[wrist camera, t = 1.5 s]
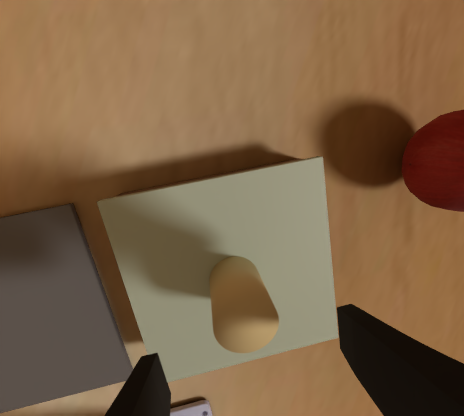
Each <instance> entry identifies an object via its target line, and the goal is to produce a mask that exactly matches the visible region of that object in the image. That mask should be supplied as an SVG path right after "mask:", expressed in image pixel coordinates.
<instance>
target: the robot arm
mask: <svg viewBox="0 0 464 416" xmlns="http://www.w3.org/2000/svg"><path fill="white" fill-rule="evenodd" d="M337 314H338V326H339V339H340V349H341V351H342V353H343V354H344V356H345V358H346V360H347V362H348V363H349V365H350V367H351V369H352V370H353V372H354V374H355V375H356V377H357V378H358V380H359V381H360V383H361V384H362V386H363V387H364V388H365V390H366V391H367V393H368V394H369V396H370V397H371V398H372V400H373V401H374V403H375V404H376V405H377V407H378V408H379V410H380V411H381V412H382V414H383V415H384V416H464V364H463V363H461V362H459V361H457V360H455V359H453V358H450V357H448V356H446V355H444V354H442V353H440V352H438V351H436V350H434V349H432V348H430V347H428V346H426V345H424V344H422V343H420V342H419V341H417V340H415V339H413V338H411V337H409V336H407V335H405V334H404V333H402V332H400V331H398V330H396V329H395V328H393V327H391V326H389V325H387V324H386V323H384V322H382V321H380V320H379V319H377V318H375V317H374V316H372V315H370V314H368V313H367V312H365V311H363V310H361V309H360V308H358V307H356V306H354V305H352V304H349V305H345V306H341V307H337ZM170 405H171V392H170V389H169V386H168V383H167V380H166V377H165V374H164V371H163V368H162V364H161V361H160V358H159V355H158V353H154V354H150V355H146V356H142V357H141V358H140V360H139V361H138V363H137V364H136V366H135V368H134V369H133V371H132V373H131V374H130V376H129V377H128V379H127V381H126V382H125V384H124V386H123V387H122V389H121V391H120V392H119V394H118V395H117V397H116V399H115V400H114V402H113V403H112V405H111V406H110V408H109V410H108V411H107V413H106V414H105V416H213V415H212V411H211V408H210V404H209V402H208V401H207V400H201V401H198V402H194V403H190V404H187V405H183V406H179V407H175V408H172V409H170Z"/></svg>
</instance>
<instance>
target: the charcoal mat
mask: <svg viewBox="0 0 464 416" xmlns="http://www.w3.org/2000/svg"><path fill="white" fill-rule="evenodd" d="M132 371H133V368H132V366H131V363H130V360H129V357H128V354H127V352H126V349H125V346H124V343H123V341H122V338H121V335H120V332H119V330H118V327H117V324H116V321H115V318H114V316H113V313H112V310H111V307H110V305H109V302H108V299H107V296H106V294H105V291H104V288H103V285H102V283H101V280H100V277H99V274H98V271H97V269H96V266H95V263H94V260H93V258H92V255H91V252H90V249H89V247H88V244H87V241H86V238H85V236H84V233H83V230H82V227H81V224H80V222H79V219H78V216H77V213H76V211H75V208H74V205H73V203H72V204H67V205H62V206H57V207H52V208H47V209H42V210H37V211H32V212H27V213H22V214H17V215H12V216H7V217H2V218H0V413H3V412H7V411H11V410H15V409H19V408H23V407H26V406H30V405H34V404H38V403H42V402H46V401H50V400H53V399H57V398H61V397H65V396H69V395H73V394H77V393H81V392H84V391H88V390H92V389H96V388H100V387H104V386H108V385H111V384H115V383H119V382H123V381H127V379H128V377H129V376H130V374H131V373H132Z"/></svg>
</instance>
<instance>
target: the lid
mask: <svg viewBox="0 0 464 416" xmlns="http://www.w3.org/2000/svg"><path fill="white" fill-rule="evenodd" d="M97 205H98V208H99V211H100V214H101V217H102V220H103V222H104V225H105V228H106V231H107V234H108V237H109V240H110V243H111V246H112V249H113V252H114V255H115V258H116V261H117V264H118V267H119V270H120V273H121V276H122V279H123V282H124V285H125V288H126V291H127V294H128V297H129V300H130V303H131V306H132V309H133V312H134V315H135V318H136V321H137V324H138V327H139V330H140V333H141V336H142V339H143V342H144V345H145V348H146V351H147V354H148V355H150V354H154V353H158V355H159V358H160V361H161V364H162V368H163V371H164V374H165V377H166V380H167V383H168V382H171V381H175V380H179V379H183V378H187V377H191V376H194V375H198V374H202V373H206V372H210V371H213V370H217V369H221V368H225V367H229V366H232V365H236V364H240V363H244V362H248V361H251V360H255V359H259V358H263V357H267V356H270V355H274V354H278V353H282V352H286V351H289V350H293V349H297V348H301V347H305V346H309V345H312V344H316V343H320V342H324V341H328V340H331V339H335V338H338V328H337V317H336V305H335V293H334V282H333V270H332V258H331V246H330V235H329V223H328V211H327V200H326V188H325V176H324V164H323V157H320V156H317V157H312V158H307V159H302V160H297V161H292V162H287V163H282V164H277V165H272V166H267V167H262V168H257V169H252V170H247V171H242V172H237V173H232V174H227V175H222V176H217V177H212V178H207V179H202V180H197V181H192V182H187V183H182V184H177V185H172V186H167V187H162V188H157V189H152V190H147V191H142V192H137V193H132V194H127V195H122V196H117V197H112V198H107V199H102V200H100V201H98V202H97Z"/></svg>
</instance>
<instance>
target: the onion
mask: <svg viewBox="0 0 464 416" xmlns="http://www.w3.org/2000/svg"><path fill="white" fill-rule="evenodd" d="M402 175H403V178H404V182H405V184H406V186H407V188H408V189H409V191H410V192H411V193H413V194H414V195H415V196H416V197H417V198H418V199H419V200H421V201H422V202H424V203H426V204H428V205H430V206H433V207H438V208H442V209H447V210H453V211H460V212H464V110H459V111H454V112H450V113H447V114H444V115H440V116H439V117H437V118H436V119H434V120H432V121H431V122H429V123H428V124H426V125H425V126H423V127H422V128H421V129H419V130H418V131H417V132H416V133H415V134H414V136H413V137H412V138H411V139H410V141H409V142H408V143H407V146H406V149H405V152H404V154H403V159H402Z"/></svg>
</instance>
